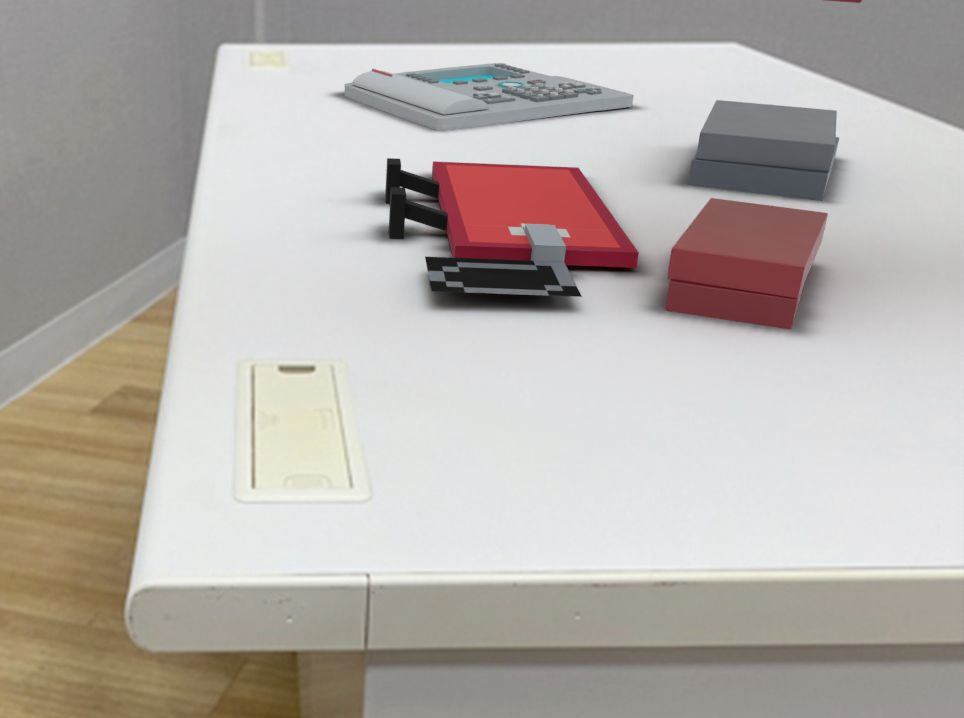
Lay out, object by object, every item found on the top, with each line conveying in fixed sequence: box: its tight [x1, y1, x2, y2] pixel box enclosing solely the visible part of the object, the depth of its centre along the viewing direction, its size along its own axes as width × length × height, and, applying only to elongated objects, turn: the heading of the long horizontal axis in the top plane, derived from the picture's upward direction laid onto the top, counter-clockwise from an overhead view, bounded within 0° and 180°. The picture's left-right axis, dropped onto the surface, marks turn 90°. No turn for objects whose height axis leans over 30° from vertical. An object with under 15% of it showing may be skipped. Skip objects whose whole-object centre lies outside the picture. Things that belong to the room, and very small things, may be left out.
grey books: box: [687, 99, 840, 202], centre depth 96 cm, size 14×10×4 cm
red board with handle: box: [384, 157, 640, 298], centre depth 80 cm, size 30×3×15 cm
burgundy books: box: [664, 197, 829, 330], centre depth 71 cm, size 12×8×4 cm, turn 159°
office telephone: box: [344, 62, 634, 131], centre depth 118 cm, size 23×3×20 cm
